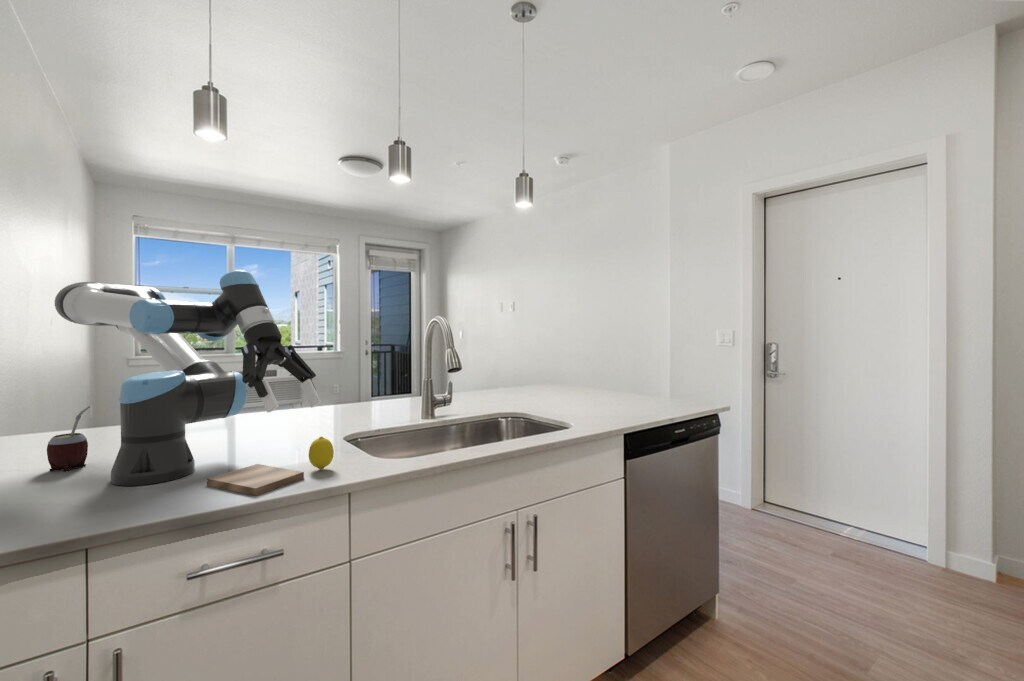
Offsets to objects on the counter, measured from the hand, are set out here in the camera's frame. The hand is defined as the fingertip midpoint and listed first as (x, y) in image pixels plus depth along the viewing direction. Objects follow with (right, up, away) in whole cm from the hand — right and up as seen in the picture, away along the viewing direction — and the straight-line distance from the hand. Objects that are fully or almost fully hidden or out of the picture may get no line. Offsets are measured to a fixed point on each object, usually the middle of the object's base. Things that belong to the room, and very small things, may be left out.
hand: (296, 407), depth 107 cm
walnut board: (-6, -16, -5) cm, 18 cm away
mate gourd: (-56, -16, +4) cm, 58 cm away
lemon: (+4, -16, +4) cm, 17 cm away
